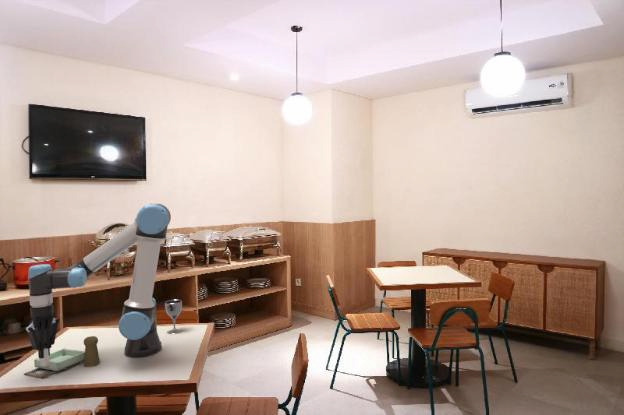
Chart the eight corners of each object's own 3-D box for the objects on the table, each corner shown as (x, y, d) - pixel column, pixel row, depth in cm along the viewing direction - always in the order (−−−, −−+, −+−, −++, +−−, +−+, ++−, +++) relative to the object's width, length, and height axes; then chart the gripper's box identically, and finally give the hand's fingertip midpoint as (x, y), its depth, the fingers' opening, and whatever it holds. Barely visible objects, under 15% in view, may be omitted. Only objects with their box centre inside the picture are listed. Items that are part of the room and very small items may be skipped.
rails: (94, 356, 185) (94, 355, 185) (44, 378, 163) (44, 376, 163) (75, 354, 189) (75, 352, 189) (23, 375, 167) (23, 373, 167)
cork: (93, 367, 173) (92, 339, 173) (79, 366, 174) (78, 339, 174) (103, 361, 179) (102, 334, 179) (90, 360, 180) (89, 334, 180)
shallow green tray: (86, 358, 180) (86, 351, 180) (58, 370, 168) (58, 363, 168) (63, 355, 185) (63, 348, 185) (34, 367, 172) (34, 359, 172)
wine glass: (168, 329, 220) (167, 300, 220) (184, 328, 221) (183, 299, 221) (164, 334, 213) (163, 303, 212) (181, 333, 213) (180, 303, 213)
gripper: (49, 300, 176) (53, 358, 177) (18, 308, 164) (21, 370, 165) (63, 301, 173) (66, 360, 174) (32, 309, 161) (35, 373, 162)
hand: (44, 365), depth 169 cm, fingers closed
